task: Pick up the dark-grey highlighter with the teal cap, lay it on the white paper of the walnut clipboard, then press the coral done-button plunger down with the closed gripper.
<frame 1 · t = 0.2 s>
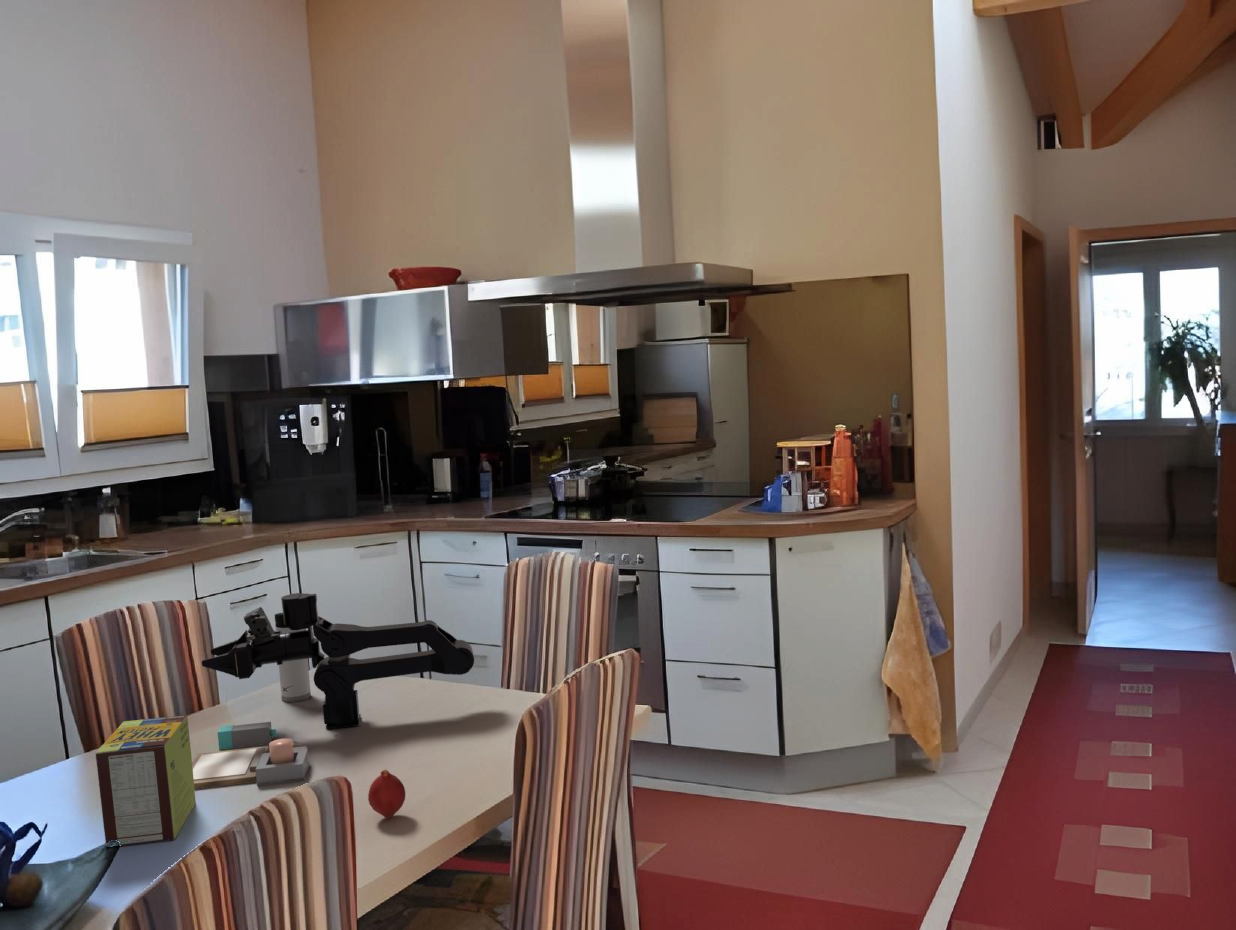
hand: (206, 657, 215), 16 cm above the table, tool horizontal, fingers open, 9 cm apart
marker: (247, 743, 212), on the table
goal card: (288, 753, 204), on the table
clipboard: (226, 769, 198), on the table
onion: (388, 818, 172), on the table
protein box: (152, 826, 175), on the table
done button: (281, 753, 193), point 4 cm above the table, slide at 0.0 cm
button housing: (283, 774, 194), on the table
travel mug: (296, 698, 240), on the table
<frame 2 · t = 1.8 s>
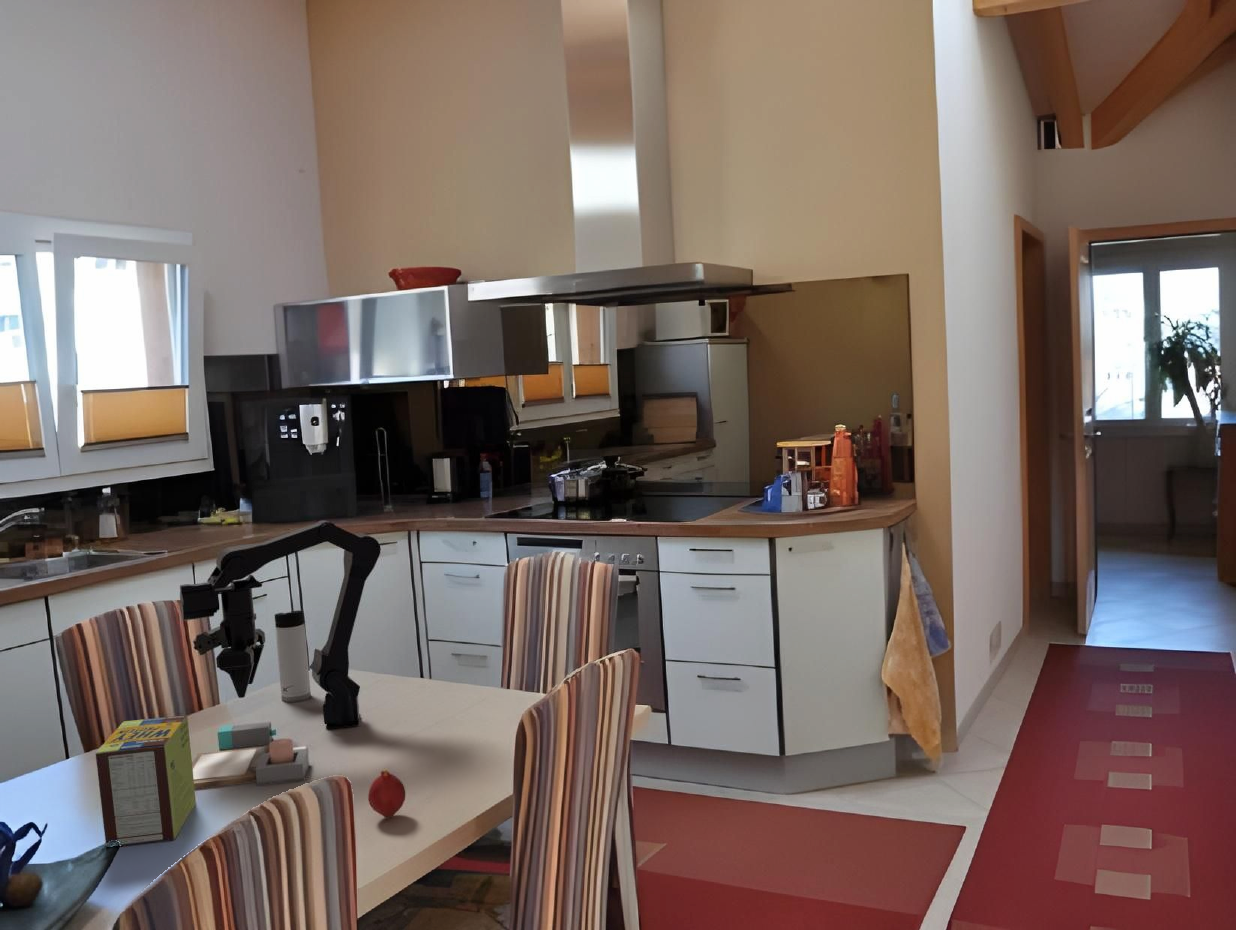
hand: (245, 690, 211), 11 cm above the table, tool pointing down, fingers open, 9 cm apart
nothing on the table moved.
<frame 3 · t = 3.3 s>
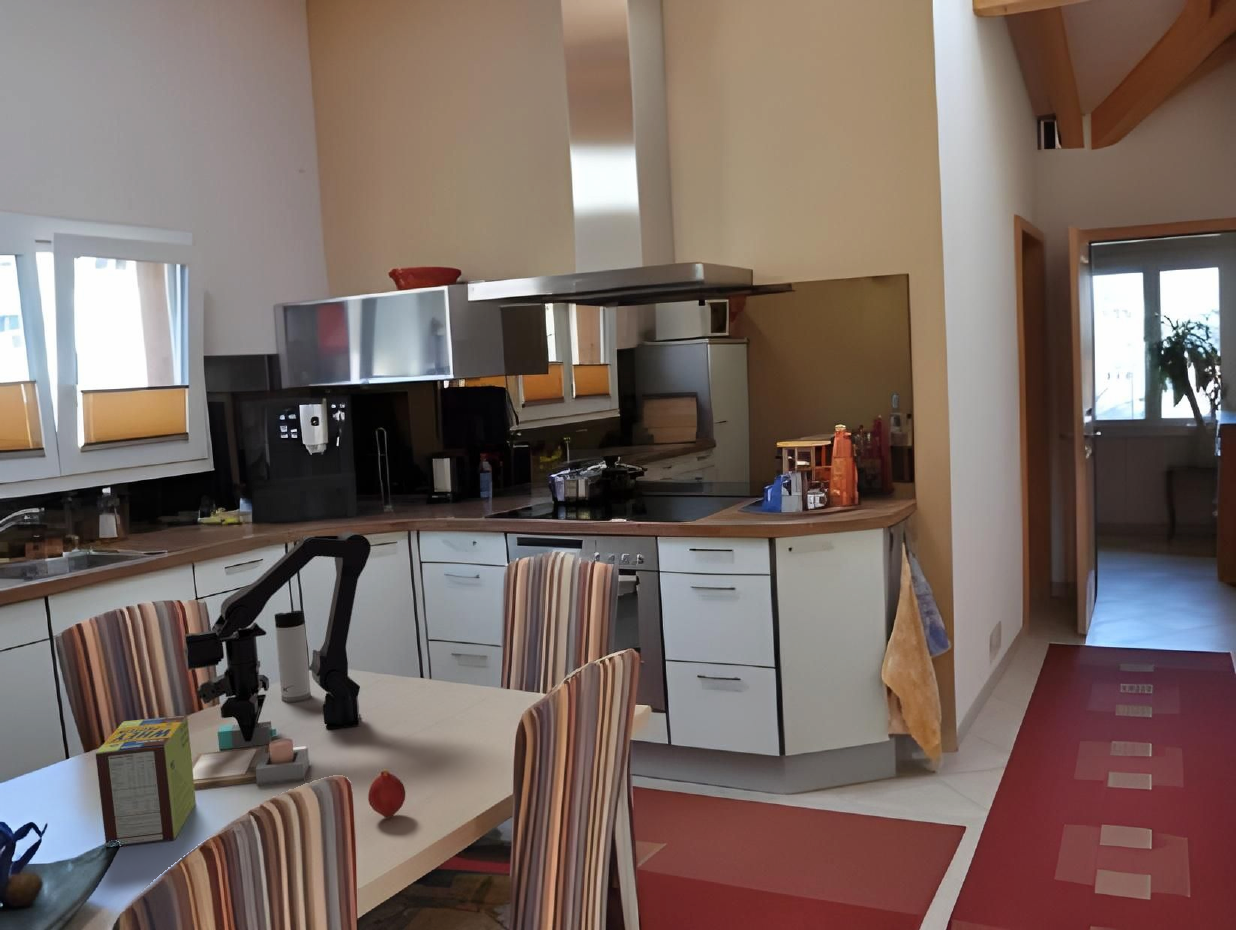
hand: (249, 738, 212), 1 cm above the table, tool pointing down, fingers closed on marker, 3 cm apart
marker: (247, 743, 212), on the table, touching gripper
everything else where it was.
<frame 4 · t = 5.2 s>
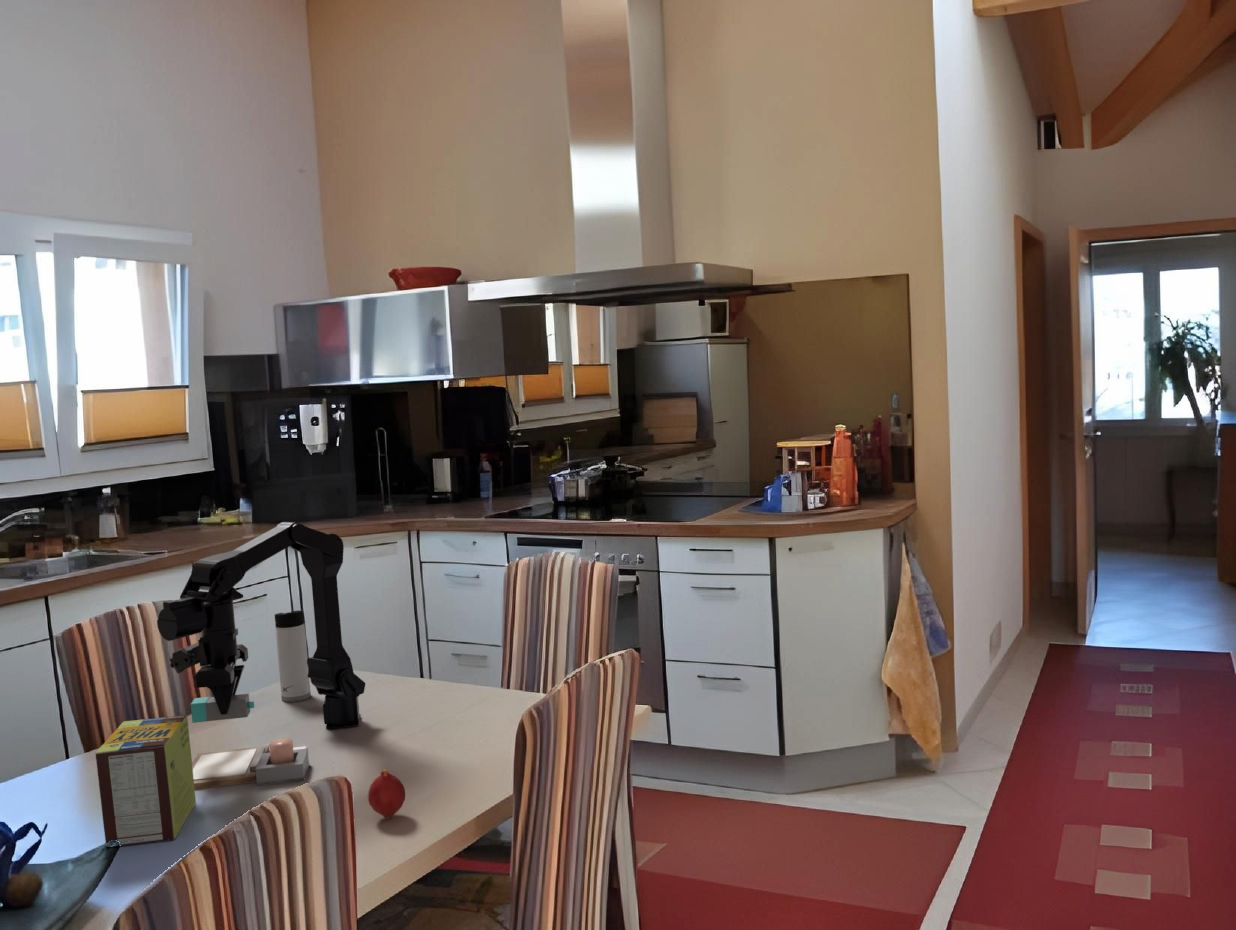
hand: (226, 711, 197), 11 cm above the table, tool pointing down, fingers closed on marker, 3 cm apart
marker: (223, 716, 197), point 10 cm above the table, touching gripper
everything else where it was.
when the fingers open (3 cm above the table, at t = 6.9 s): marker stays where it is, resting on clipboard.
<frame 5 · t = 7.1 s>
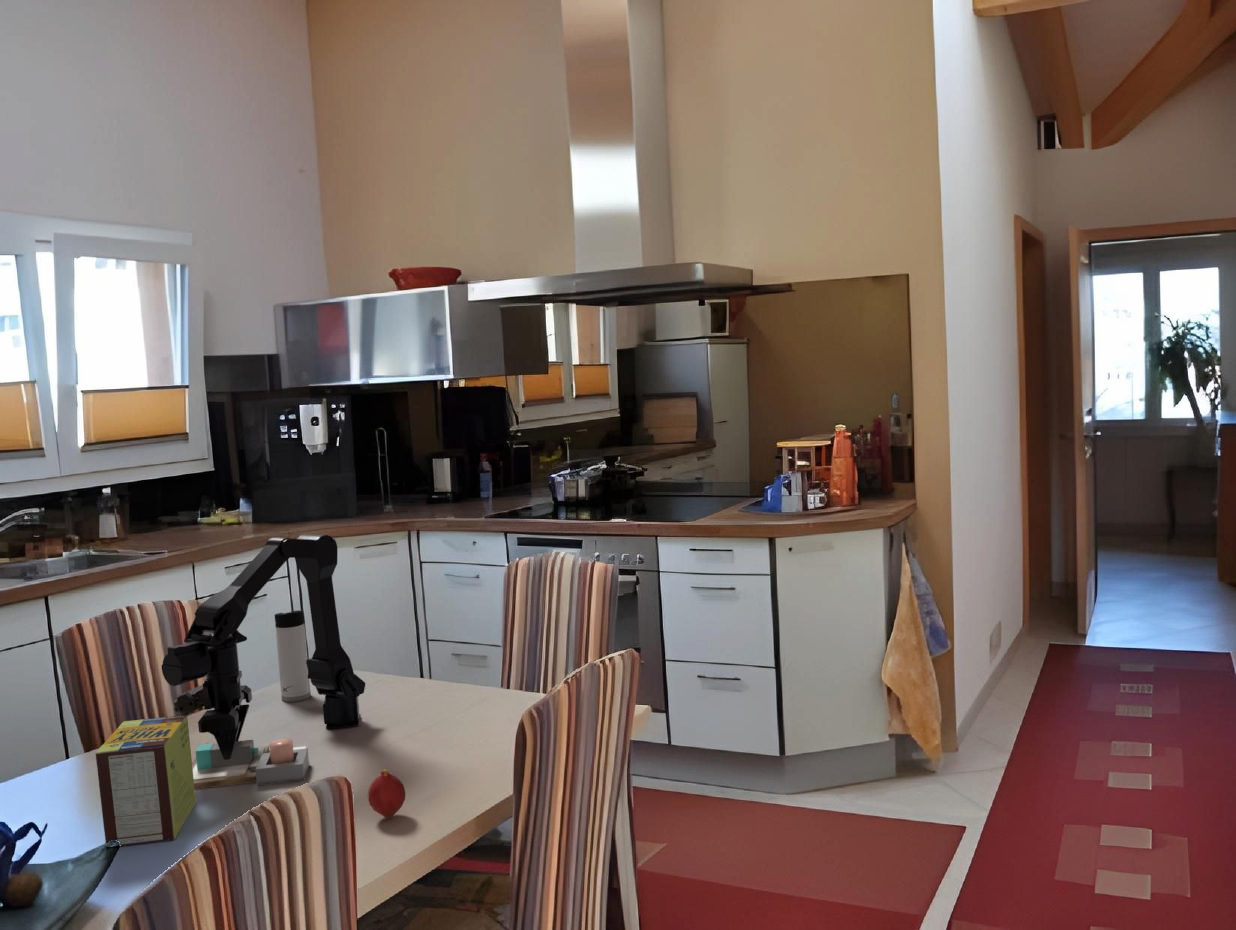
hand: (230, 753, 198), 3 cm above the table, tool pointing down, fingers open, 6 cm apart
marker: (227, 763, 198), point 1 cm above the table, touching clipboard
everything else where it was.
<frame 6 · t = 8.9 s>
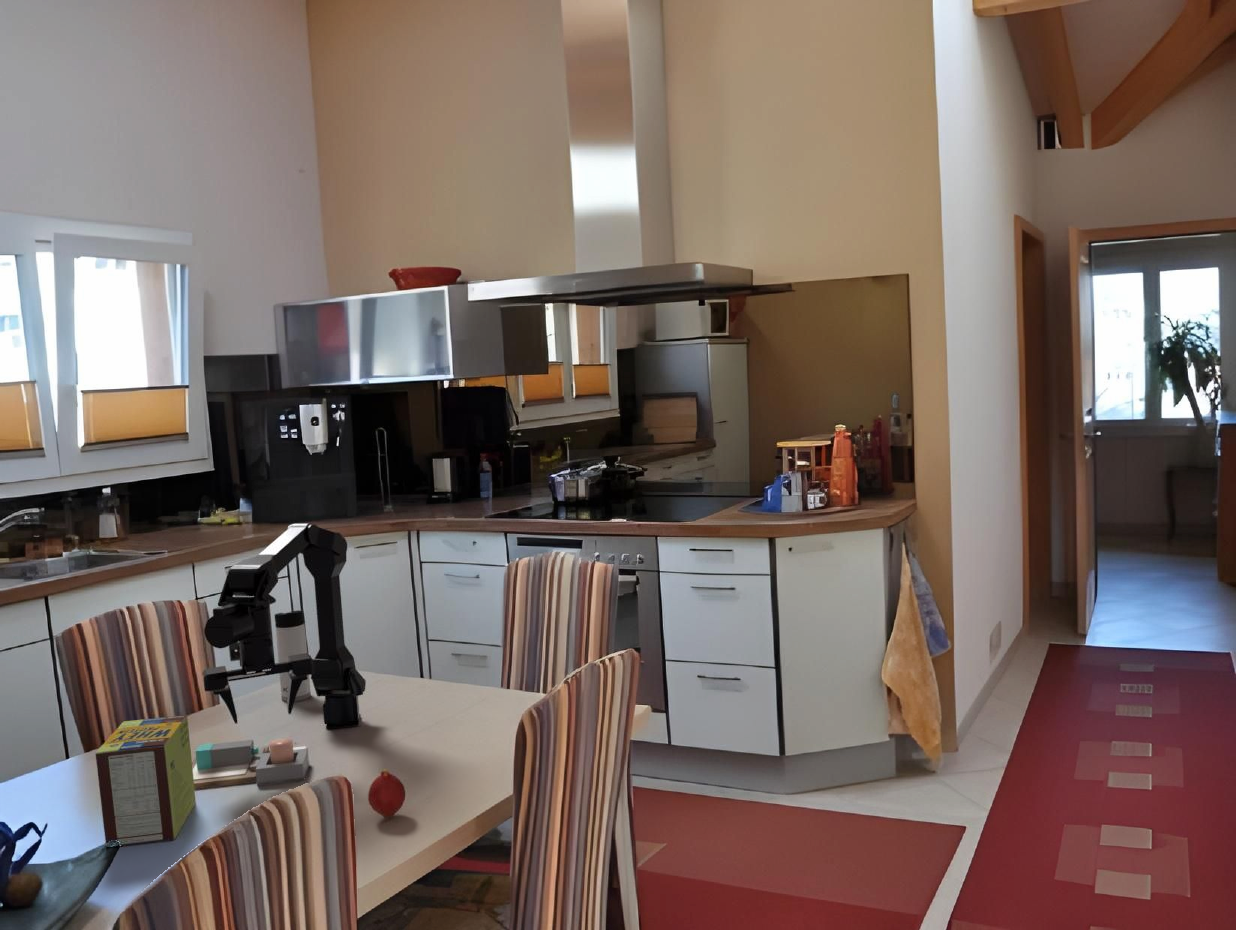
hand: (263, 718, 194), 10 cm above the table, tool pointing down, fingers open, 9 cm apart
nothing on the table moved.
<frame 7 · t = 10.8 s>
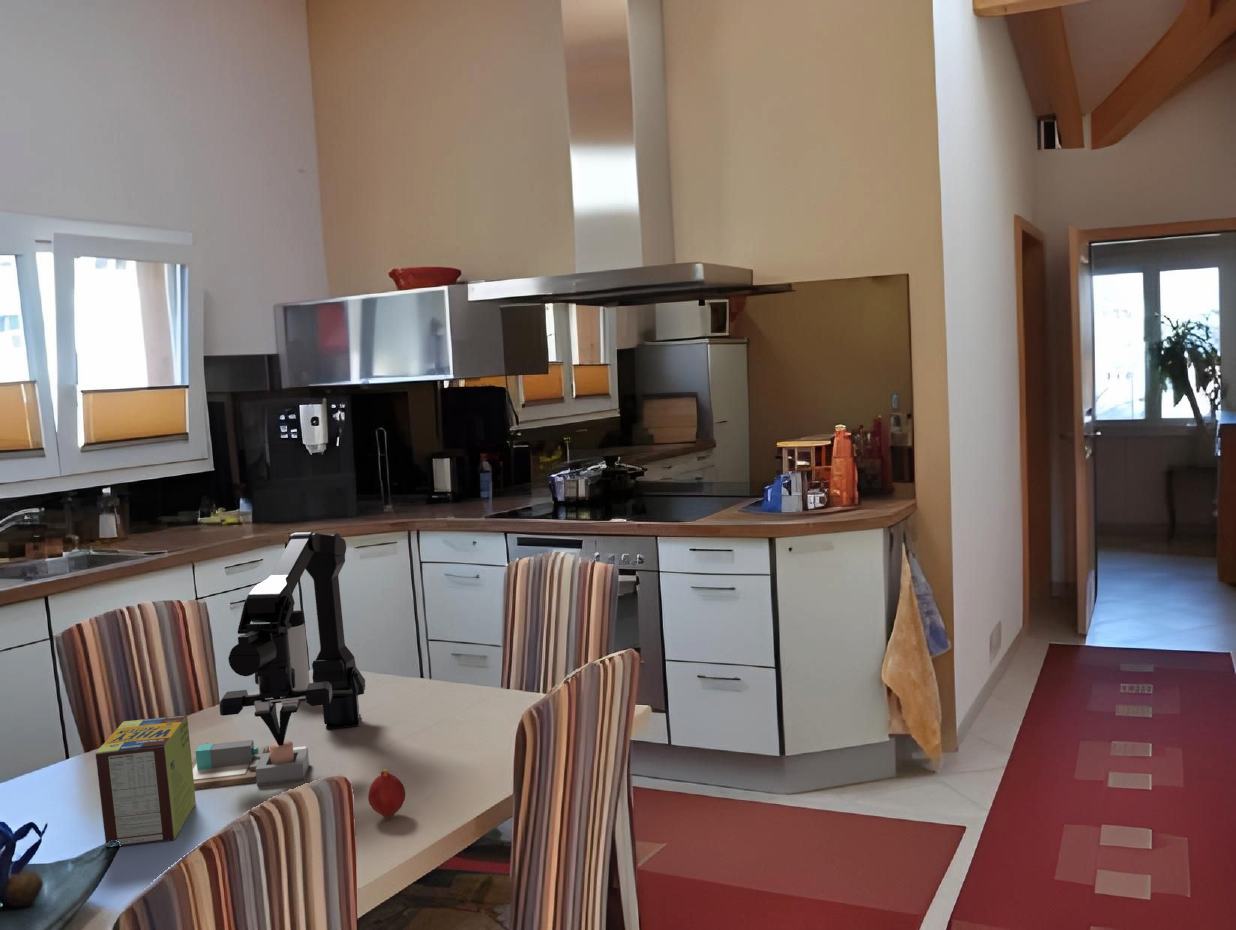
hand: (281, 744, 193), 6 cm above the table, tool pointing down, fingers closed, pressing on done button
done button: (281, 755, 193), point 4 cm above the table, slide at 0.4 cm, touching gripper
everything else where it was.
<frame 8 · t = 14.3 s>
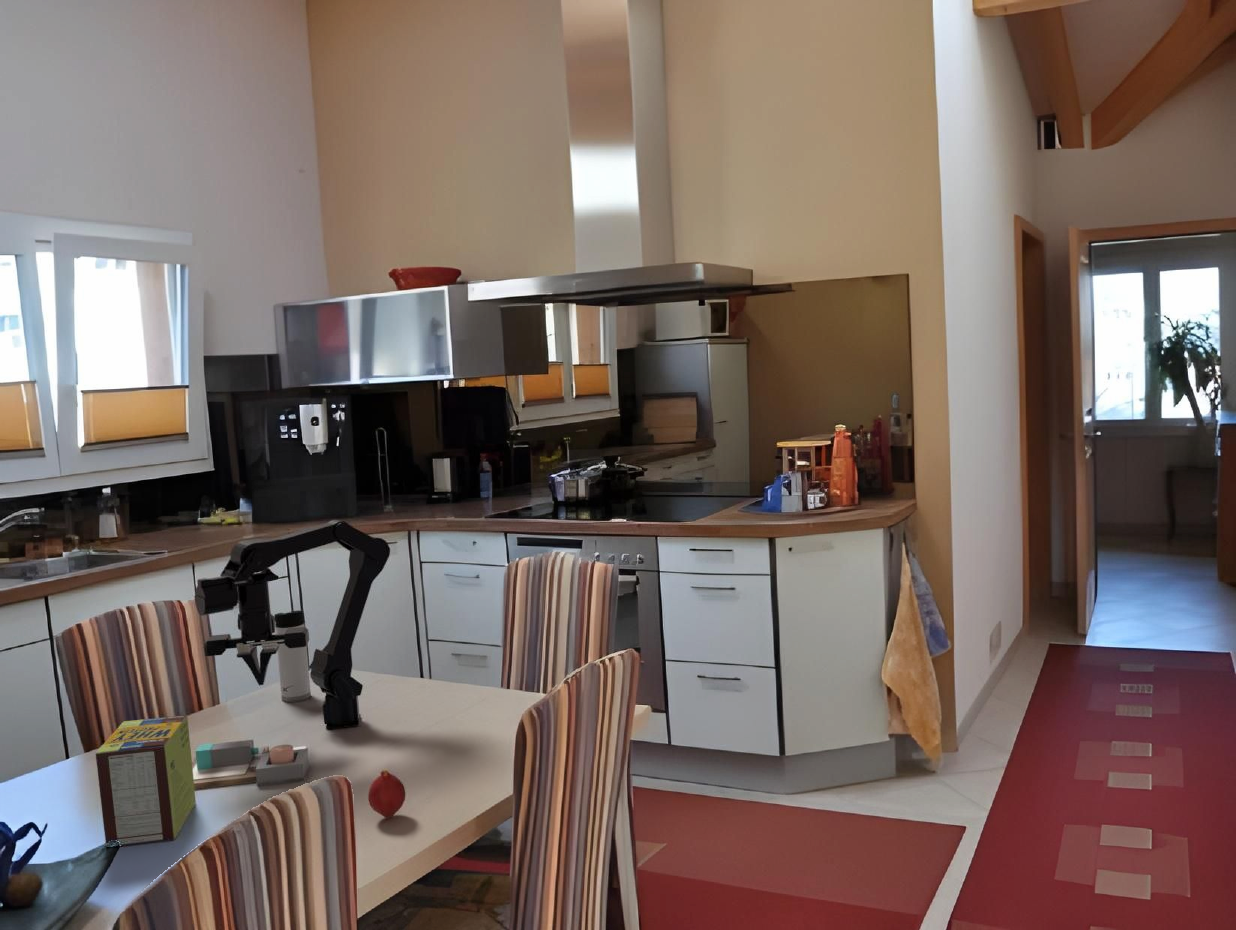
hand: (261, 684, 209), 12 cm above the table, tool pointing down, fingers closed
done button: (282, 759, 193), point 3 cm above the table, slide at 1.1 cm
everything else where it was.
at the end: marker inside the target area on the clipboard (0.4 cm from its centre), point 1.2 cm above the clipboard's base; done button slide at 1.1 cm; the gripper is holding nothing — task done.
